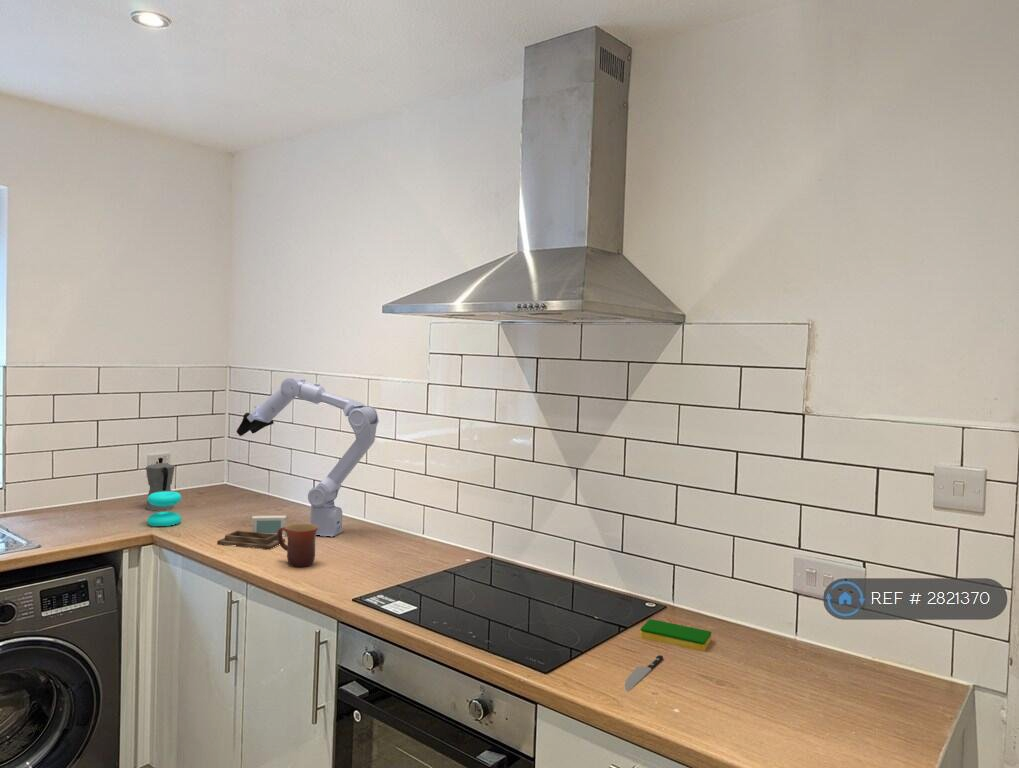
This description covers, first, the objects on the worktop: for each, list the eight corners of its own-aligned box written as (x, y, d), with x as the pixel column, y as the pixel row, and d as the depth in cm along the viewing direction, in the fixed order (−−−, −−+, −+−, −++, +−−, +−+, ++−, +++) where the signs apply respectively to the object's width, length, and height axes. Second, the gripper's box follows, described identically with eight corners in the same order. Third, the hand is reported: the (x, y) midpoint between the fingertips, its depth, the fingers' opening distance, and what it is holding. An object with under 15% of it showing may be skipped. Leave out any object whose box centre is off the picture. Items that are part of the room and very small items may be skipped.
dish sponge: (649, 628, 168) (649, 618, 168) (711, 642, 162) (711, 631, 162) (639, 639, 162) (640, 628, 162) (703, 653, 155) (704, 642, 155)
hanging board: (285, 542, 226) (285, 533, 226) (269, 549, 217) (269, 541, 217) (234, 537, 230) (234, 528, 230) (217, 544, 221) (217, 535, 221)
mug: (323, 562, 207) (324, 525, 207) (304, 570, 199) (305, 532, 199) (287, 556, 211) (288, 520, 211) (267, 564, 203) (268, 527, 203)
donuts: (163, 489, 248) (188, 492, 245) (163, 519, 248) (187, 522, 245) (140, 494, 239) (165, 497, 235) (139, 525, 239) (165, 529, 236)
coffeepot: (141, 505, 266) (142, 455, 265) (169, 503, 272) (170, 454, 271) (150, 514, 254) (151, 462, 253) (180, 511, 260) (181, 460, 259)
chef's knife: (611, 692, 136) (626, 695, 135) (610, 685, 136) (626, 689, 135) (650, 657, 152) (664, 659, 151) (650, 651, 152) (664, 654, 151)
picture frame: (285, 534, 236) (286, 515, 236) (285, 536, 233) (285, 517, 233) (252, 534, 234) (253, 515, 233) (251, 537, 231) (252, 518, 230)
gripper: (277, 394, 247) (249, 421, 249) (254, 397, 233) (224, 425, 235) (290, 410, 246) (262, 437, 249) (268, 414, 232) (238, 442, 234)
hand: (245, 432), depth 242 cm, fingers open, 7 cm apart
